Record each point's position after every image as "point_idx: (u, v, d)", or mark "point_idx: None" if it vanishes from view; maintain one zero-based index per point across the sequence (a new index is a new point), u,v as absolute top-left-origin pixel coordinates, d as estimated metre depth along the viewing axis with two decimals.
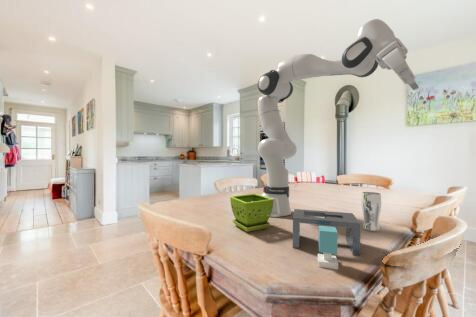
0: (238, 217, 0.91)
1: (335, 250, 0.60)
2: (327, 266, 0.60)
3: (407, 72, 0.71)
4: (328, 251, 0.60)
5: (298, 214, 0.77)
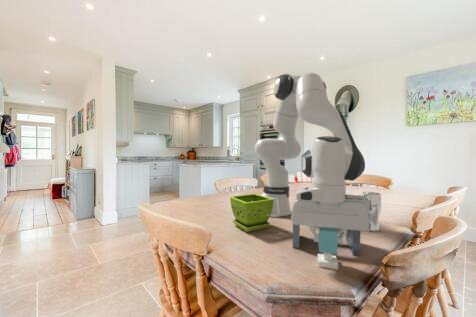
0: (238, 217, 0.91)
1: (335, 250, 0.60)
2: (327, 266, 0.60)
3: (310, 229, 0.63)
4: (328, 251, 0.60)
5: None
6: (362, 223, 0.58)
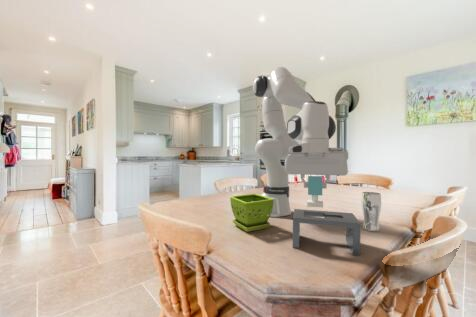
0: (238, 217, 0.91)
1: (320, 192, 0.73)
2: (314, 205, 0.74)
3: (301, 178, 0.77)
4: (315, 193, 0.74)
5: (298, 214, 0.77)
6: (342, 169, 0.72)
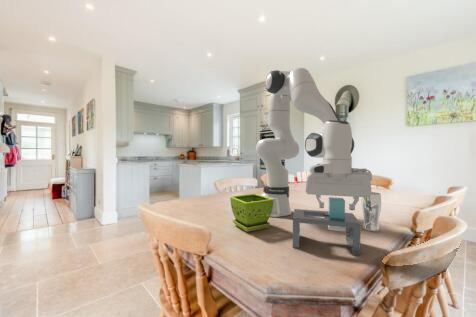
0: (238, 217, 0.91)
1: (343, 215, 0.72)
2: (336, 229, 0.72)
3: None
4: (337, 216, 0.72)
5: (298, 214, 0.77)
6: (365, 191, 0.70)
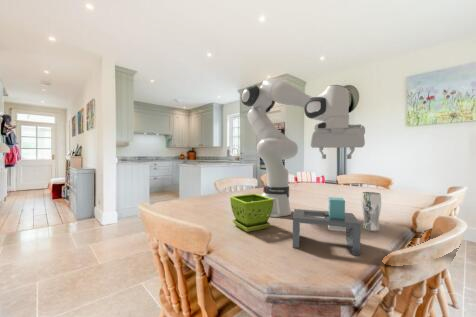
0: (238, 217, 0.91)
1: (343, 215, 0.72)
2: (336, 229, 0.72)
3: (320, 150, 0.92)
4: (337, 216, 0.72)
5: (298, 214, 0.77)
6: (360, 142, 0.86)
